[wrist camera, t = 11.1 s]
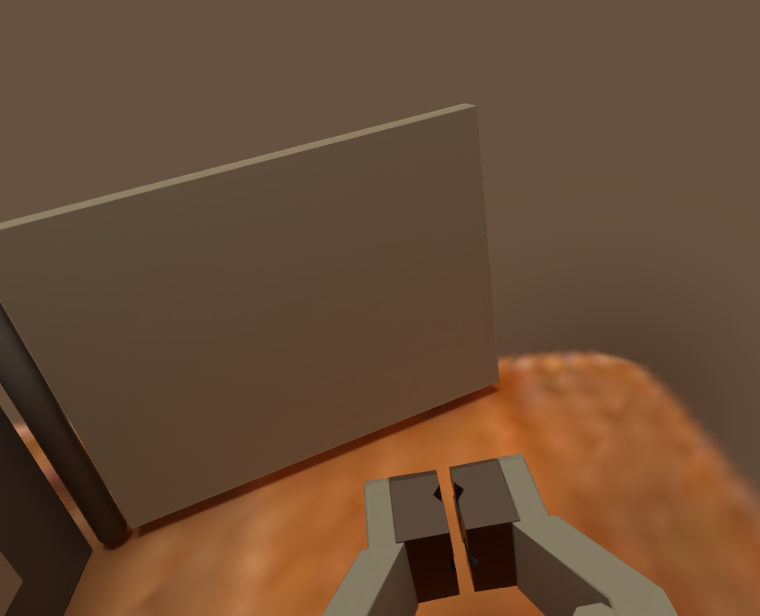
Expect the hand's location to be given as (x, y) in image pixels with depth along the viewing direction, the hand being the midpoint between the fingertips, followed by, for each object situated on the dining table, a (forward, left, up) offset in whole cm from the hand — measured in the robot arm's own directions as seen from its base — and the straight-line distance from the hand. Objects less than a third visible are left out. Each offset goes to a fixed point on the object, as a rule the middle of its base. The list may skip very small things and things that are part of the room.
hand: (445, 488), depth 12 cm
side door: (-7, +6, -6) cm, 11 cm away
